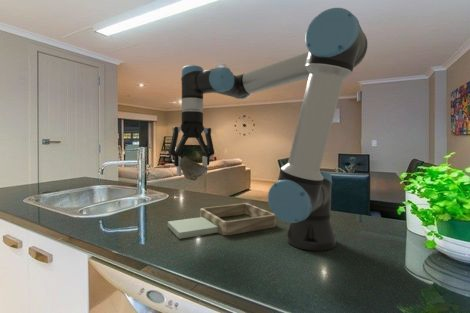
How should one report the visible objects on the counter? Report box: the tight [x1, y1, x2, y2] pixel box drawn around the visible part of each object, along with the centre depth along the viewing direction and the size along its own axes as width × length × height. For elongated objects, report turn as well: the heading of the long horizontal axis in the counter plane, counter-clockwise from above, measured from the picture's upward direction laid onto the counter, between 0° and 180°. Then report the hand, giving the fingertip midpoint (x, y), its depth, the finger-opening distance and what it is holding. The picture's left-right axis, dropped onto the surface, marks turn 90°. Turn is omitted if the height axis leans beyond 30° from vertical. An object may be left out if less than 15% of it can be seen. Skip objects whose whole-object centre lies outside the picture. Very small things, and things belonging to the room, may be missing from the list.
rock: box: [180, 155, 208, 181], centre depth 96 cm, size 11×6×10 cm
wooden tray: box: [199, 202, 277, 236], centre depth 108 cm, size 22×22×4 cm
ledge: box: [167, 216, 219, 240], centre depth 99 cm, size 14×14×2 cm
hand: (192, 174), depth 98 cm, fingers closed on rock, 9 cm apart
